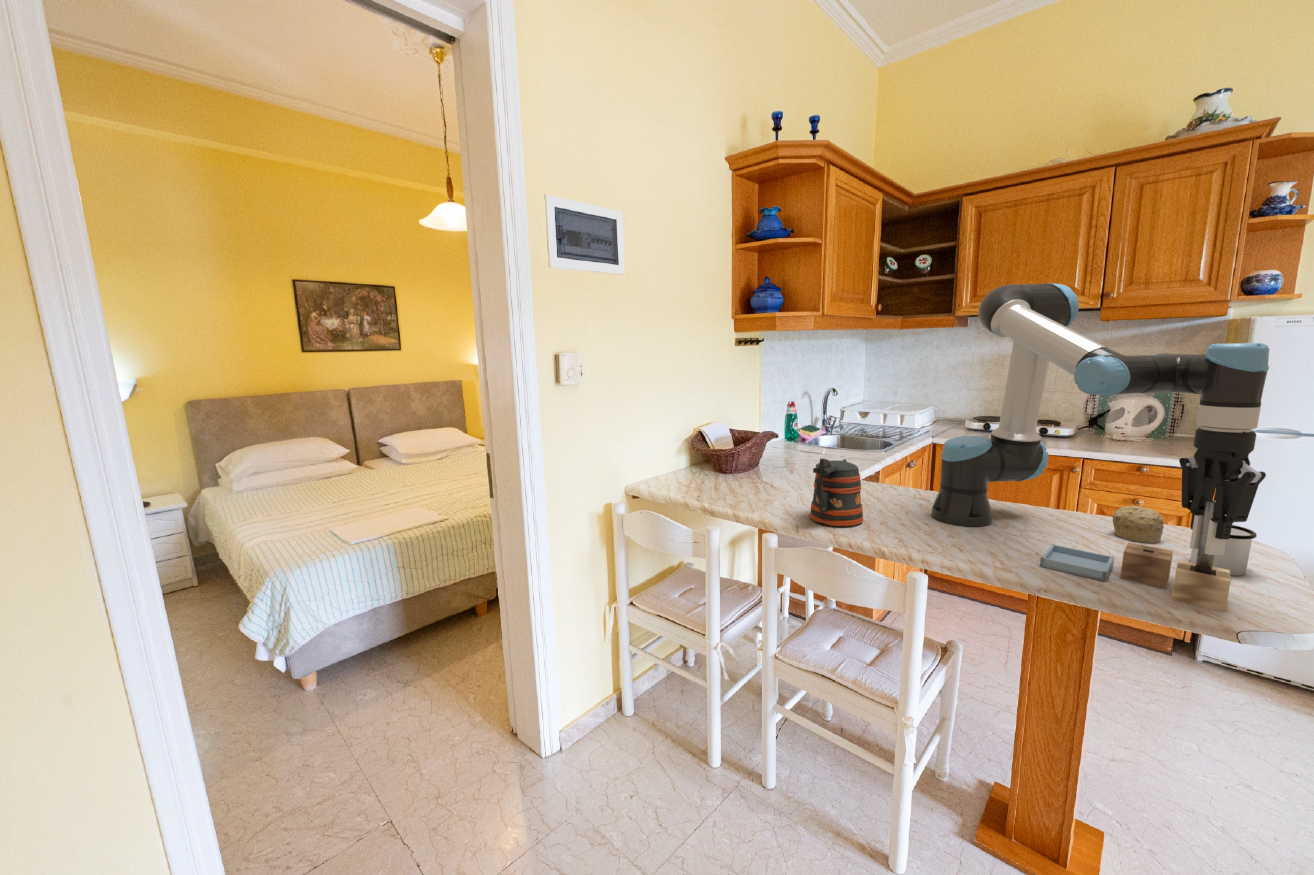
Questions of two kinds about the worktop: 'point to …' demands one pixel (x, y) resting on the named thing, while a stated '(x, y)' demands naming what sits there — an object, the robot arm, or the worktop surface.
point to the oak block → (1201, 586)
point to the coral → (1138, 524)
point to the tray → (1077, 562)
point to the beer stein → (836, 494)
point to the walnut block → (1146, 564)
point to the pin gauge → (1205, 560)
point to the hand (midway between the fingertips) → (1206, 550)
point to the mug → (1233, 551)
